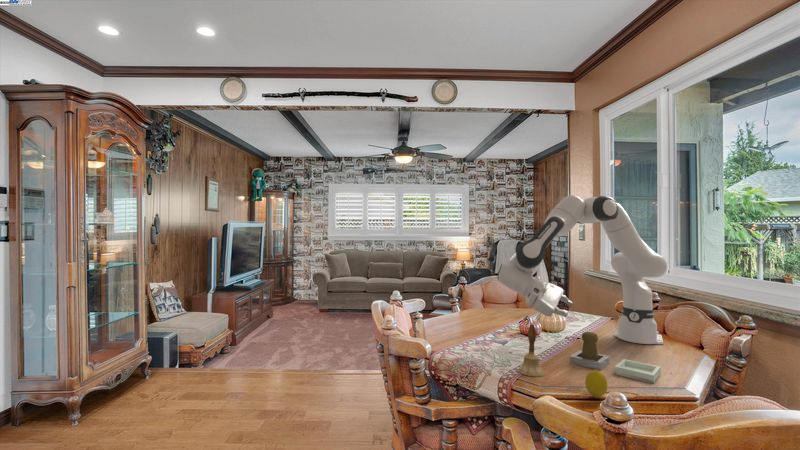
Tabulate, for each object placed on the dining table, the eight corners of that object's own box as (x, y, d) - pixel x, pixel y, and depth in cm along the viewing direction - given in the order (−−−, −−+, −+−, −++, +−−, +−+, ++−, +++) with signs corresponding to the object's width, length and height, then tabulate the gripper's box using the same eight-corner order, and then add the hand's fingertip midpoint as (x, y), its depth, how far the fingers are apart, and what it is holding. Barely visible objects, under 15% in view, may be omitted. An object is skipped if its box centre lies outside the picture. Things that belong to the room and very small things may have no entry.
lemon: (593, 402, 105) (594, 373, 105) (581, 394, 111) (581, 366, 111) (612, 401, 106) (612, 372, 106) (598, 393, 112) (598, 365, 112)
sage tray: (623, 366, 135) (623, 358, 135) (660, 374, 128) (660, 366, 128) (614, 374, 127) (614, 366, 127) (653, 383, 120) (653, 375, 120)
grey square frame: (579, 356, 145) (579, 350, 145) (609, 363, 138) (609, 356, 138) (570, 363, 138) (570, 356, 138) (600, 370, 130) (600, 363, 131)
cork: (601, 366, 134) (601, 335, 134) (583, 365, 135) (583, 334, 136) (596, 361, 140) (596, 331, 140) (578, 359, 141) (578, 330, 141)
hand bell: (541, 369, 131) (541, 322, 132) (546, 378, 123) (546, 328, 123) (516, 367, 133) (516, 321, 133) (519, 376, 125) (520, 326, 125)
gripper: (538, 286, 161) (570, 304, 155) (525, 307, 144) (560, 328, 139) (545, 274, 158) (578, 292, 152) (532, 294, 141) (568, 315, 136)
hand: (569, 309), depth 145 cm, fingers open, 8 cm apart
